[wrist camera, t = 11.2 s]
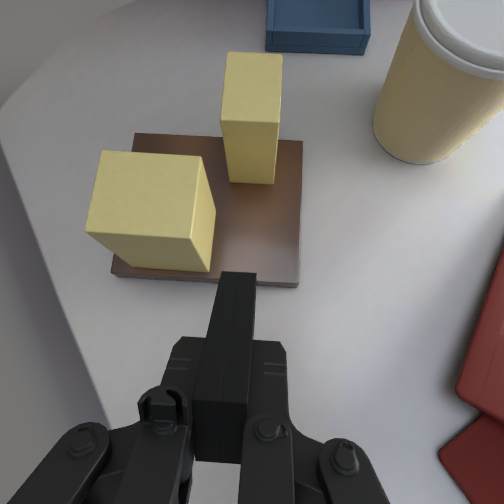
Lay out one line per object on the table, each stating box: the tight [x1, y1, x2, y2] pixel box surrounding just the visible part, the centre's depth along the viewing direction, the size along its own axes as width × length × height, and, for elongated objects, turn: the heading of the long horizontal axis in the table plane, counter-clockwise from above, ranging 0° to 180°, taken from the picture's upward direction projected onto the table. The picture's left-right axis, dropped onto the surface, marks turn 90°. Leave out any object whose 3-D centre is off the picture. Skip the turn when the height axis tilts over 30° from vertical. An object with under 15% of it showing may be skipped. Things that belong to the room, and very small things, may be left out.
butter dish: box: [265, 0, 371, 55], centre depth 35 cm, size 9×9×2 cm
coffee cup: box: [373, 0, 504, 164], centre depth 26 cm, size 9×9×12 cm
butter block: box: [85, 150, 216, 272], centre depth 24 cm, size 6×5×8 cm
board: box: [111, 133, 303, 288], centre depth 29 cm, size 14×12×2 cm
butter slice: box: [220, 52, 283, 184], centre depth 26 cm, size 4×5×8 cm
